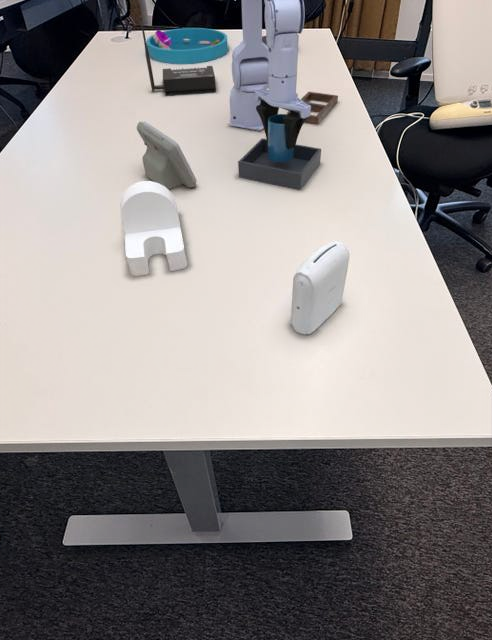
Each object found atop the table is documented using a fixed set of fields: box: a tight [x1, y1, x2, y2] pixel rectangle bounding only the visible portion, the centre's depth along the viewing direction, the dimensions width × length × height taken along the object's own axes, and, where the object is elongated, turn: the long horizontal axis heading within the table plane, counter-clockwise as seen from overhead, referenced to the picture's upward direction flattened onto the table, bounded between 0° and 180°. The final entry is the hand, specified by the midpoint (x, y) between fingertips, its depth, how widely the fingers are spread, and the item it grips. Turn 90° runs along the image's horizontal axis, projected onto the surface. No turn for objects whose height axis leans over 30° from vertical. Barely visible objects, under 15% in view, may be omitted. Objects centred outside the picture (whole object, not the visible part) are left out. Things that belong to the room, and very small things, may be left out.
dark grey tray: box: [237, 138, 322, 191], centre depth 100 cm, size 15×13×4 cm
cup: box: [268, 113, 294, 162], centre depth 96 cm, size 6×6×8 cm
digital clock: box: [136, 121, 197, 191], centre depth 96 cm, size 16×9×11 cm, turn 26°
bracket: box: [119, 180, 188, 277], centre depth 79 cm, size 19×10×11 cm, turn 12°
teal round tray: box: [146, 27, 229, 65], centre depth 161 cm, size 30×30×6 cm
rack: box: [286, 91, 339, 125], centre depth 124 cm, size 9×17×2 cm, turn 156°
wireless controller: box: [141, 24, 217, 97], centre depth 132 cm, size 20×14×17 cm
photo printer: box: [290, 240, 351, 336], centre depth 65 cm, size 10×4×12 cm, turn 140°
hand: (280, 143), depth 97 cm, fingers closed on cup, 6 cm apart
